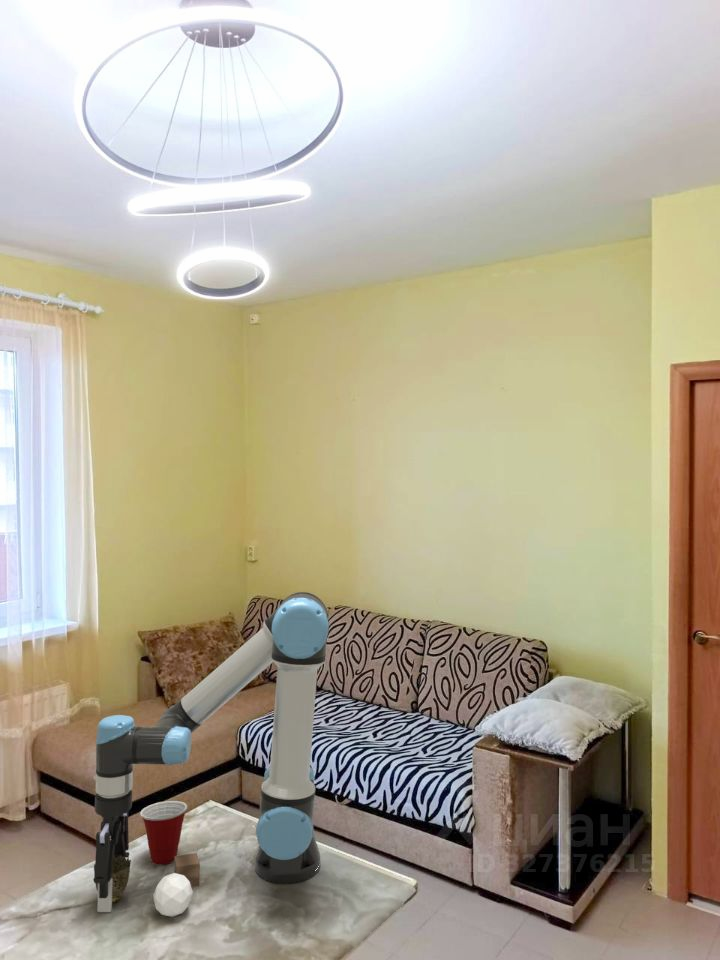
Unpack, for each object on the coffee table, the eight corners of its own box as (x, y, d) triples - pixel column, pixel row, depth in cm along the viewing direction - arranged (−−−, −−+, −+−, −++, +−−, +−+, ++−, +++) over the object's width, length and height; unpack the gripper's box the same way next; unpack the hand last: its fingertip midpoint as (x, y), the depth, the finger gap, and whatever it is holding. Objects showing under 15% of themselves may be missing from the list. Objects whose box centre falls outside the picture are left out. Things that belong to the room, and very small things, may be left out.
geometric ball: (178, 920, 150) (200, 882, 153) (176, 928, 143) (198, 887, 146) (148, 901, 150) (170, 863, 154) (143, 907, 143) (167, 868, 146)
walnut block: (196, 874, 163) (196, 852, 163) (199, 886, 159) (199, 863, 159) (173, 878, 162) (174, 856, 162) (176, 890, 157) (176, 866, 157)
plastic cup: (166, 843, 178) (167, 794, 178) (195, 856, 171) (196, 805, 172) (129, 860, 169) (130, 809, 169) (159, 875, 162) (160, 822, 163)
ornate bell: (118, 913, 148) (118, 874, 148) (85, 908, 149) (86, 870, 149) (136, 893, 155) (137, 856, 155) (105, 889, 156) (106, 852, 157)
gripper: (112, 772, 163) (109, 874, 162) (77, 812, 142) (74, 928, 142) (145, 773, 163) (143, 875, 162) (115, 812, 142) (112, 929, 142)
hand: (111, 900), depth 152 cm, fingers open, 7 cm apart
